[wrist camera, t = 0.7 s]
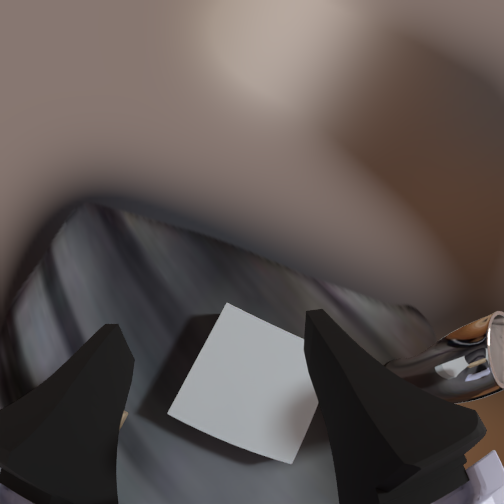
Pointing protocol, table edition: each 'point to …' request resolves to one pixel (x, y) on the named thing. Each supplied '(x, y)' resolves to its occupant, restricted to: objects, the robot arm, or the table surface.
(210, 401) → the ceramic box
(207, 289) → the table surface
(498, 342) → the beer glass
